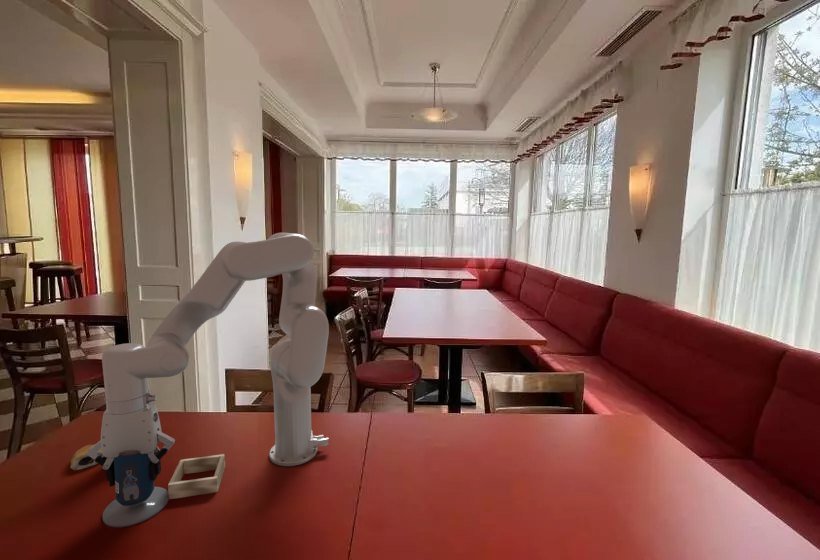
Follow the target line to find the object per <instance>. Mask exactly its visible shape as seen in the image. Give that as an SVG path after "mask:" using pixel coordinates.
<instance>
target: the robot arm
mask: <svg viewBox="0 0 820 560" xmlns="http://www.w3.org/2000/svg"><path fill="white" fill-rule="evenodd" d="M314 253H315V252H314V246H313V244H312V242H311V241H310V239H309V238H308V237H306V236H305V235H303V234H299V233H294V232H293V233H292V232H291V233H290V232H277V233H274V234H272V235H270V236H269V237H268V238H267V239H263V240H257V241H249V242H245V241H231V242H229V243H227V244H225V246H223V247H222V248H221V249H220V251H219V252H218V253H217V254H216V256H214V258H213V260H212V261H211V262H210V264H209V265H208V266H207V268H206V269H205V271H204V272H203V273H202V274H201V275H200V277H199V278H198V279H197V281H196V282H195V284H194V285H193V286H192V288H190V290H189V291H188V293H187V294H185V295H184V296H183V298H182V299H181V300H180V301H179V302H178V303H177V305H175V306H174V307H173V308H172V310H170V311H169V313H168V314H167V315H166V317H165V318H164V319H163V320H162V322H161V323H160V324H159V326H158V327H157V328H156V329H155V331H154V333H153V334H152V335H151V337H150V338H149V340H148V341H147V343H146V345H145V346H146V347H145V346H144V345H142V344H141V343H135V342H133V343H131V342H130V343H128V342H127V343H121V344H116V345H112V346H110V347H107V348H106V349H105V350H104V351H102V355H101V363H102V375H103V383H104V384H103V385H104V396H105V404H106V405H105V406H106V409H105V410H104V412H103V415H102V420H101V429H100V440H99V441H97V443H95V445H94V444H93V445H94V446H93V447H92V448H91V449H90V450H89V451H88V452H87V455H88V456H90V457H91V458H92V459H95V462H97V463H98V464H97V465H99V466H102V469H103V470H105V474H106V475H105V476H106V481H107V482H108V484H109V485H108V486H109V487H110V488H112V487H115V472H114V458H115V457H118V456H119V453H122V454H128V453H135V452H138V451H140V453H141V454H147V455H148V457H149V458H150V460H151V461H152V462H151V464H150V476H151V480H152V481H154V482H155V481H156V479H157V477H158V476H159V475H160V474H161V473H162V461H161V459H162V458H163V457H164V456H165V455H166V454H167V452H168V451H170V449H171V448H172V447H173V446H174V444H175V441H176V439H175V438H174V437H172V436H169V435H168V434H166V433H164V432H162V426H161V421H160V415H159V412H158V409H157V406H156V403H155V402H156V401H157V400H158V394H152V393H151V390H150V384H149V379H153V378H154V379H155V378H156V379H158V378H159V379H160V378H170V377H174V376H178V375H180V374H181V373H183V372H184V371H185V370H186V369H187V368H188V366H189V364H190V354H189V351H188V350H187V349H188V348H187V347H186V346H187V344H188V343H189V341H190V340H191V339H192V337H193V336H194V335H195V333H196V332H197V331H198V330H199V328H200V327H201V326H202V325H203V324H205V323H207V322H208V321H209V320H210V319H212V318H215V317H217V316H220V315H221V314H222V313H224V311H225V310H227V308H228V306H230V304H231V302H232V301H233V299H234V298H235V297H236V295H237V294H238V292H239V291H240V290H241V288H242V287H243V286H244V284H245V283H246V282H247V281H248V282H249V281H250V282H251V281H255V280H261V279H262V280H263V279H267V278H271V277H275V276H279V275H282V295H281V302H280V310H279V316H278V325H279V328H280V329H281V331H282V332H283V333H284V334H286V335H287V336H288V337H290V339H285V340H284V339H283V340H281V341H280V342H278V343H276V345H275V346H274V347H273V349H272V351H271V354H270V357H269V367H270V372H271V373H270V374H271V378H272V388H273V389H272V390H273V412H274V413H273V414H274V415H273V417H274V445H273V446H272V447H271V448H270V450H269V454H268V455H269V459H270V462H272V463H273V464H275V465H277V466H281V467H295V466H300V465H303V464H306V463H307V462H309V461H311V460H312V459H314V457H315V456H316V455H317V453H318V447H321V446H322V447H323V446H329V441H330V440H329V437H324V434H319V435H315V434H313V430H312V401H311V398H312V394H311V393H312V392H311V387H312V386H314V385H316V383H317V382H319V380H320V378H321V377H322V375H323V372H324V370H325V369H324V368H325V364H326V358H327V350H328V340H329V335H330V332H329V331H330V324H329V320H328V317H327V315H326V314H325V312H324V311H323V310H322V309H321V308H320V307H318V306H317V305H316V298H317V297H316V296H317V285H318V284H317V280H318V279H317V272H316V269H315V265H314V263H313V261H312V260H313V257H314ZM159 443H163V444H164V446H162V447H161V448H160V447H159V446H158V444H159ZM99 449H101V451H102V453H101V452H100V451H99Z"/></svg>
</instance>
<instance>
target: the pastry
mask: <svg viewBox="0 0 820 560" xmlns="http://www.w3.org/2000/svg"><path fill="white" fill-rule="evenodd" d="M95 444H96V443H95ZM95 444H87V445H84V446H83V447H81V448H78V450H76V451H75V452H73V453H74V454H72V457H71V458H70V469H71V470H73V471H78V470H83V469H85V468H89V467H92V466H96V465H99V464H98V463H97V462H95V459H92V458H91V457H90V456H88V455H87V452H88V451H89V450H90V449H91V448H92V447H93V446H94V445H95ZM99 451H100V452H101V453H102V451H101V449H99Z"/></svg>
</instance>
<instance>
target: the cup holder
mask: <svg viewBox="0 0 820 560" xmlns="http://www.w3.org/2000/svg"><path fill="white" fill-rule="evenodd" d="M225 455H226V454H225V453H221V454H216V455H215V454H213V455H207V456H201V457H199V456H198V457H193V458H192V457H191V458H184V459H180V460H179V462H178V465H176V468H175V470H174V473H173V475H172V476H171V478H170V480H169V482H168V485H167V491H168V494H169V500H174V499H181V498H188V497H193V496H201V495H207V494H214V493H218V492H219V490H220V489H219V488H220V485H221V482H222V479H223V476H224V472H225V468H226V457H225ZM210 471H215V472H214V475H213V476H210V477H203V478H202V477H201V478H196V479H195V478H194V479H189V480H183V477H184V475H187V474H194V473H201V472H202V473H203V472H210Z"/></svg>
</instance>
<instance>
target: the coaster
mask: <svg viewBox="0 0 820 560" xmlns="http://www.w3.org/2000/svg"><path fill="white" fill-rule="evenodd" d="M169 500H170V499H169V494H168V489H166V488H164V487H160V486H154V490H153V492H152V494H151V495H150V497H149V498H148V499H147V500H146V501H144V502H142V503H140V504H138V505H135V506H128V507H127V506H122V505H121V504H120V503H119V502H117V500H116V498H115V499H114V500H113V501H112V502H110V503H109V504H108V505H107V506H106V508H105V509H104V510H103V511H102V512H103V513H102V516H101V517H102V521H103V523H104V525H106V526H107V527H111V528H117V529H118V528H126V527H132V526H135V525H138V524H140V523H143V522H146V521H147V520H149V519H151V518H153V517H154V516H156V515H158V514H159V513H160V512H161V511H162V510H163V509H164V508H165V507H166V506H167V504H168V503H169Z"/></svg>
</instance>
